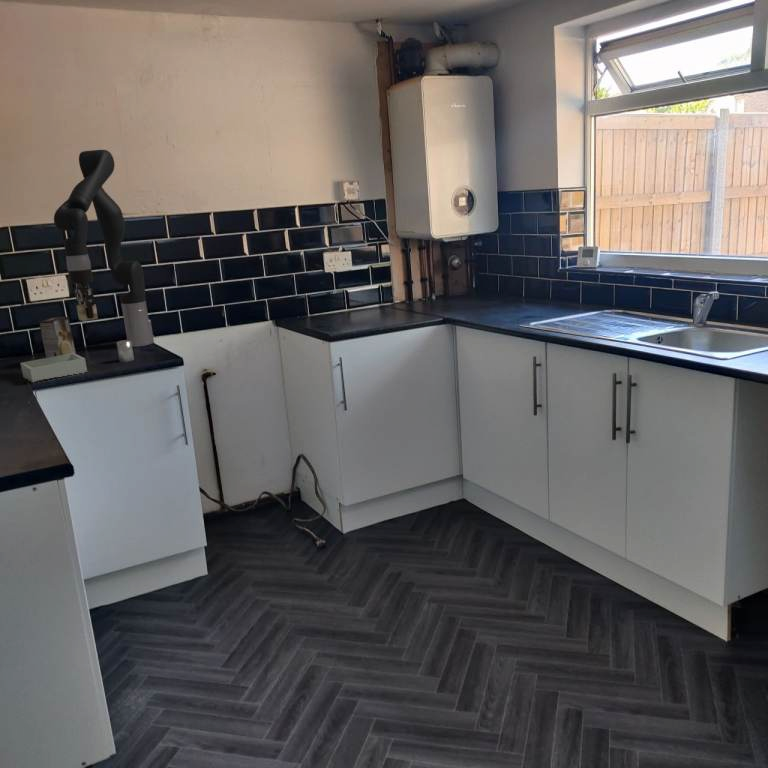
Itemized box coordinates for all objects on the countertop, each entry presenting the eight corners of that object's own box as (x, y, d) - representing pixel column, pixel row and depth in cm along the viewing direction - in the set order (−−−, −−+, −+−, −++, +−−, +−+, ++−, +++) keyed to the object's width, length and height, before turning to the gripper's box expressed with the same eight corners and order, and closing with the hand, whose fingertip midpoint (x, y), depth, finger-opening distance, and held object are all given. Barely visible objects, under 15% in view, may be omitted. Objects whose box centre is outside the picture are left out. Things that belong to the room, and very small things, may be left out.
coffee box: (62, 358, 275) (54, 316, 271) (77, 358, 274) (69, 316, 270) (46, 364, 267) (38, 321, 262) (62, 364, 265) (53, 321, 261)
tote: (75, 366, 260) (73, 352, 259) (87, 372, 250) (84, 358, 248) (23, 376, 250) (20, 362, 248) (33, 383, 239) (30, 368, 238)
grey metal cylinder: (131, 357, 268) (128, 339, 266) (136, 359, 264) (133, 341, 262) (117, 360, 265) (114, 341, 263) (122, 362, 261) (119, 343, 259)
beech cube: (93, 317, 256) (91, 303, 255) (98, 318, 253) (95, 304, 251) (78, 319, 253) (76, 305, 252) (83, 321, 250) (80, 306, 248)
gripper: (97, 268, 245) (105, 317, 250) (84, 266, 256) (92, 314, 261) (74, 270, 241) (83, 321, 245) (62, 269, 252) (70, 317, 256)
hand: (88, 317), depth 253 cm, fingers closed on beech cube, 5 cm apart
